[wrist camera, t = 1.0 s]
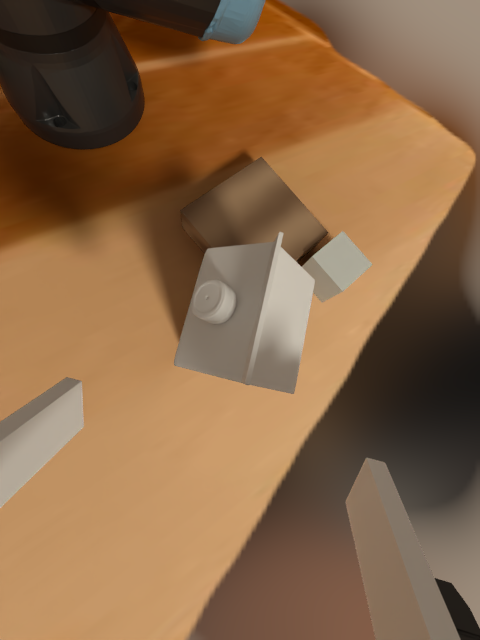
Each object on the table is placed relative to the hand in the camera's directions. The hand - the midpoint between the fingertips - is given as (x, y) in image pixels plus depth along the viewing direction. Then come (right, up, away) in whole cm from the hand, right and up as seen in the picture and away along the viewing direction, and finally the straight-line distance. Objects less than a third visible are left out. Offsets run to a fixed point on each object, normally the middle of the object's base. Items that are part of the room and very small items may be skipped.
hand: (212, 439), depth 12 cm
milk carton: (0, +3, +18) cm, 18 cm away
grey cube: (+12, +11, +21) cm, 27 cm away
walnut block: (+3, +16, +21) cm, 27 cm away
